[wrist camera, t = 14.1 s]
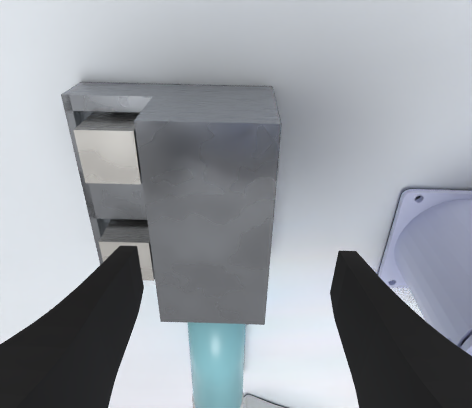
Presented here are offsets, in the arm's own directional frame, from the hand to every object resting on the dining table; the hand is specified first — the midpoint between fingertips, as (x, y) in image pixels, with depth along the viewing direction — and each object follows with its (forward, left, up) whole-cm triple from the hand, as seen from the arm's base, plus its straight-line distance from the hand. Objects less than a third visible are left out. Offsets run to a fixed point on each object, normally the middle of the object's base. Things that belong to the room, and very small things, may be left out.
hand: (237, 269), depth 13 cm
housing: (+4, +2, -10) cm, 11 cm away
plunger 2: (+6, +5, -10) cm, 13 cm away
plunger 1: (+6, -1, -10) cm, 12 cm away
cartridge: (+1, +14, -10) cm, 18 cm away
